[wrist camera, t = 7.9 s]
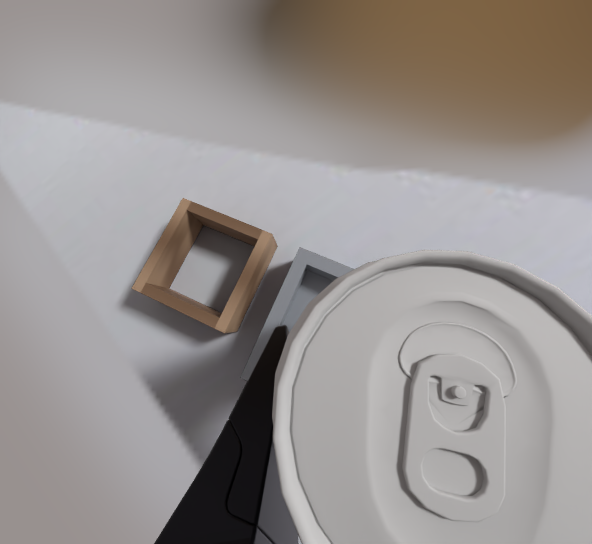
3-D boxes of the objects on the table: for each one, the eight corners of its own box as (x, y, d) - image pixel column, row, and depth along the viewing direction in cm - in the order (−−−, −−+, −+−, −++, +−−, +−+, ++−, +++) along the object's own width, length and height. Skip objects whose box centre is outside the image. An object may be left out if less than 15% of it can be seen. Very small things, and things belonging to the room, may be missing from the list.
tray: (370, 428, 18) (382, 450, 15) (251, 369, 19) (240, 377, 16) (414, 304, 19) (433, 301, 16) (301, 257, 21) (299, 247, 18)
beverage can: (385, 313, 15) (667, 271, 3) (375, 396, 14) (730, 793, 2) (308, 298, 15) (300, 215, 4) (294, 377, 14) (217, 616, 3)
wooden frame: (237, 331, 20) (224, 333, 17) (156, 293, 21) (131, 288, 18) (277, 246, 21) (272, 234, 18) (199, 214, 22) (182, 197, 19)
